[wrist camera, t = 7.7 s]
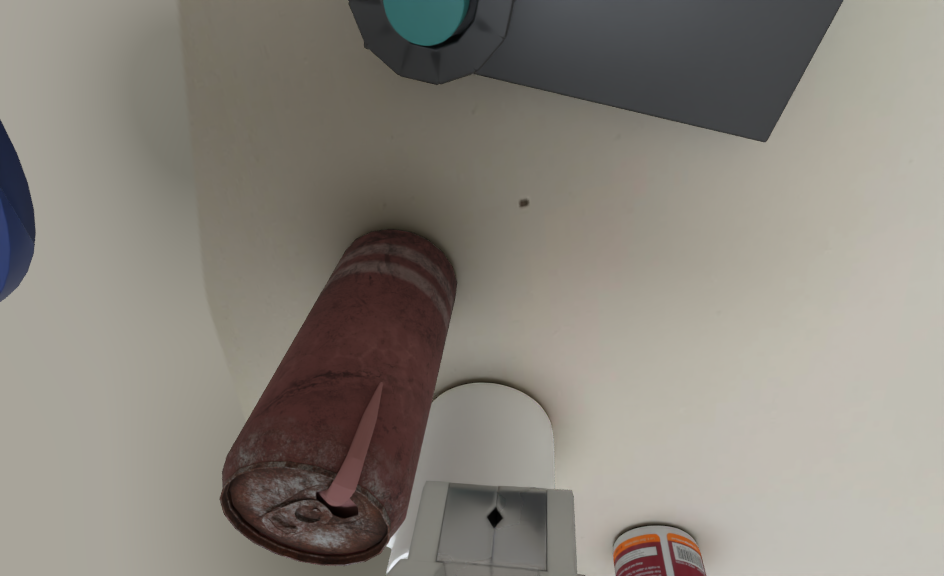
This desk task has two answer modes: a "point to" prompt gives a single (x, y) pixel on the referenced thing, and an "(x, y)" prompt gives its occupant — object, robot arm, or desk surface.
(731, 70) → the scale
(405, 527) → the mug
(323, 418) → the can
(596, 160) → the desk surface
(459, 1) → the button
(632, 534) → the pill bottle
